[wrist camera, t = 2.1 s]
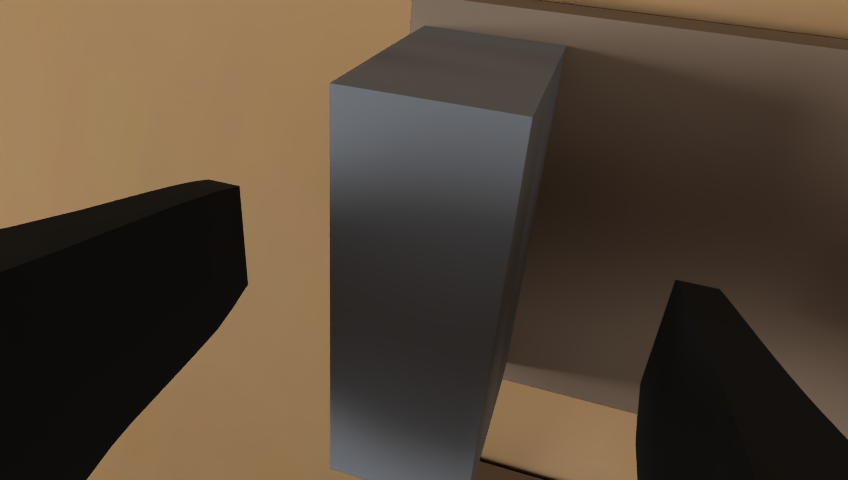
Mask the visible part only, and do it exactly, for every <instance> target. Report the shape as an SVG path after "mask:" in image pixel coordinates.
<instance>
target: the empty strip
mask: <svg viewBox="0 0 848 480" xmlns="http://www.w3.org/2000/svg"><path fill="white" fill-rule="evenodd" d="M474 480H542V479H539V478H536V477H532V476H529V475H525V474H522V473H518V472H515V471H512V470H508V469H505V468H501V467H498V466H494V465H491V464H488V463H484V462H481V461H479V464H478V468H477V471H476V475H475V478H474Z"/></svg>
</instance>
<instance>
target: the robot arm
mask: <svg viewBox="0 0 848 480" xmlns="http://www.w3.org/2000/svg"><path fill="white" fill-rule="evenodd" d="M247 285H248V280H247V268H246V257H245V245H244V234H243V222H242V211H241V199H240V187H239V186H236V185H232V184H227V183H222V182H218V181H213V180H201V181H194V182H189V183H184V184H179V185H175V186H170V187H166V188H162V189H158V190H154V191H150V192H147V193H143V194H139V195H135V196H131V197H128V198H124V199H120V200H116V201H113V202H109V203H105V204H101V205H98V206H94V207H90V208H87V209H83V210H79V211H75V212H71V213H66V214H62V215H58V216H54V217H50V218H46V219H42V220H37V221H33V222H29V223H25V224H21V225H17V226H12V227H8V228H3V229H0V480H87V478H88V477H89V476H90V474H91V473H92V472H93V470H94V469H95V468H96V466H97V465H98V464H99V462H100V461H101V460H102V458H103V457H104V456H105V454H106V453H107V452H108V450H109V449H110V448H111V446H112V445H113V444H114V443H115V442H116V440H117V439H118V438H119V437H120V436H121V434H122V433H123V432H124V431H125V430H126V429H127V427H128V426H129V425H130V424H131V423H132V422H133V421H134V420H135V418H136V417H137V416H138V415H139V414H140V413H141V412H142V411H143V410H144V409H145V408H146V407H147V406H148V404H149V403H150V402H151V401H152V400H153V399H154V398H155V397H156V396H157V395H158V394H159V393H160V392H161V390H162V389H163V388H164V387H165V386H166V385H167V384H168V383H169V382H170V381H171V380H172V379H173V378H174V376H175V375H176V374H177V373H178V372H179V371H180V370H181V369H182V368H183V367H184V366H185V365H186V364H187V362H188V361H189V360H190V359H191V358H192V357H193V356H194V355H195V354H196V353H197V351H198V350H199V349H200V348H201V347H202V346H203V345H204V344H205V343H206V342H207V340H208V339H209V338H210V337H211V336H212V335H213V334H214V333H215V331H216V330H217V329H218V328H219V327H220V325H221V324H222V322H223V321H224V320H225V318H226V317H227V315H228V314H229V312H230V311H231V310H232V308H233V307H234V305H235V304H236V302H237V301H238V299H239V297H240V296H241V294H242V293H243V291H244V290H245V288H246V287H247ZM636 459H637V478H638V480H848V439H847V438H846V437H845V436H844V435H843V434H842V433H841V432H840V431H839V430H838V428H837V427H836V426H835V425H834V424H833V423H832V422H831V421H830V420H829V419H828V418H827V417H826V416H825V415H824V414H823V413H822V412H821V410H820V409H819V408H818V407H817V406H816V405H815V404H814V403H813V402H812V400H811V399H810V398H809V397H808V396H807V395H806V394H805V393H804V391H803V390H802V389H801V388H800V387H799V386H798V385H797V383H796V382H795V381H794V380H793V379H792V378H791V376H790V375H789V374H788V373H787V372H786V370H785V369H784V368H783V367H782V366H781V364H780V363H779V362H778V361H777V360H776V358H775V357H774V356H773V355H772V353H771V352H770V351H769V350H768V349H767V347H766V346H765V345H764V344H763V342H762V341H761V340H760V339H759V337H758V336H757V335H756V334H755V332H754V331H753V330H752V328H751V327H750V326H749V325H748V323H747V322H746V321H745V320H744V318H743V317H742V316H741V315H740V313H739V312H738V311H737V309H736V308H735V307H734V306H733V304H732V303H731V302H730V301H729V299H728V298H727V297H726V296H725V295H724V294H723V292H722V291H721V290H720V289H717V288H713V287H708V286H703V285H699V284H694V283H689V282H685V281H680V280H675V282H674V285H673V288H672V291H671V294H670V297H669V300H668V303H667V306H666V309H665V312H664V315H663V318H662V321H661V324H660V326H659V329H658V332H657V335H656V338H655V341H654V344H653V347H652V350H651V353H650V356H649V359H648V362H647V365H646V368H645V371H644V374H643V377H642V379H641V382H640V392H639V404H638V415H637V430H636Z"/></svg>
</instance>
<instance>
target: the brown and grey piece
mask: <svg viewBox="0 0 848 480" xmlns="http://www.w3.org/2000/svg"><path fill="white" fill-rule="evenodd" d="M675 280H680V281H685V282H689V283H694V284H699V285H703V286H708V287H713V288H717V289H720V290H721V291H722V292H723V294H724V295H725V296H726V297H727V298H728V299H729V301H730V302H731V303H732V304H733V306H734V307H735V308H736V309H737V311H738V312H739V313H740V315H741V316H742V317H743V318H744V320H745V321H746V322H747V323H748V325H749V326H750V327H751V328H752V330H753V331H754V332H755V334H756V335H757V336H758V337H759V339H760V340H761V341H762V342H763V344H764V345H765V346H766V347H767V349H768V350H769V351H770V352H771V353H772V355H773V356H774V357H775V358H776V360H777V361H778V362H779V363H780V364H781V366H782V367H783V368H784V369H785V370H786V372H787V373H788V374H789V375H790V376H791V378H792V379H793V380H794V381H795V382H796V383H797V385H798V386H799V387H800V388H801V389H802V390H803V391H804V393H805V394H806V395H807V396H808V397H809V398H810V399H811V400H812V402H813V403H814V404H815V405H816V406H817V407H818V408H819V409H820V410H821V412H822V413H823V414H824V415H825V416H826V417H827V418H828V419H829V420H830V421H831V422H832V423H833V424H834V425H835V426H836V427H837V428H838V430H839V431H840V432H841V433H842V434H843V435H844V436H845V437H846V438H847V439H848V40H846V39H838V38H830V37H822V36H814V35H806V34H798V33H791V32H783V31H775V30H767V29H759V28H751V27H743V26H735V25H727V24H720V23H712V22H704V21H696V20H688V19H680V18H672V17H664V16H656V15H649V14H641V13H633V12H625V11H617V10H609V9H601V8H593V7H585V6H578V5H570V4H562V3H554V2H546V1H538V0H412V10H411V26H410V34H409V35H408V36H406V37H405V38H403V39H401V40H400V41H398V42H396V43H395V44H393V45H391V46H390V47H388V48H387V49H385V50H383V51H382V52H380V53H378V54H377V55H375V56H373V57H372V58H370V59H368V60H367V61H365V62H364V63H362V64H360V65H359V66H357V67H355V68H354V69H352V70H350V71H349V72H347V73H346V74H344V75H342V76H341V77H339V78H337V79H336V80H334V81H332V82H331V83H330V469H333V470H336V471H339V472H343V473H346V474H349V475H352V476H355V477H359V478H362V479H365V480H474V478H475V475H476V471H477V468H478V464H479V461H480V457H481V453H482V450H483V446H484V443H485V439H486V436H487V432H488V428H489V425H490V421H491V418H492V414H493V410H494V407H495V403H496V400H497V396H498V393H499V389H500V385H501V382H502V379H504V380H508V381H512V382H516V383H519V384H523V385H527V386H531V387H535V388H539V389H542V390H546V391H550V392H554V393H558V394H562V395H565V396H569V397H573V398H577V399H581V400H585V401H588V402H592V403H596V404H600V405H604V406H608V407H611V408H615V409H619V410H623V411H627V412H631V413H634V414H638V404H639V392H640V382H641V379H642V377H643V374H644V371H645V368H646V365H647V362H648V359H649V356H650V353H651V350H652V347H653V344H654V341H655V338H656V335H657V332H658V329H659V326H660V324H661V321H662V318H663V315H664V312H665V309H666V306H667V303H668V300H669V297H670V294H671V291H672V288H673V285H674V282H675Z"/></svg>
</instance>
